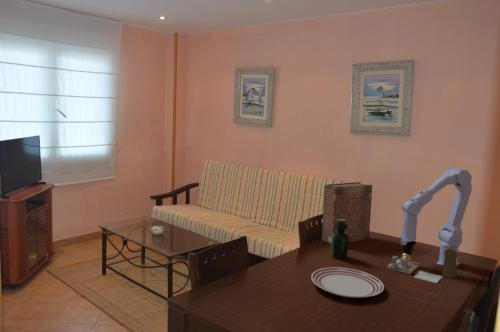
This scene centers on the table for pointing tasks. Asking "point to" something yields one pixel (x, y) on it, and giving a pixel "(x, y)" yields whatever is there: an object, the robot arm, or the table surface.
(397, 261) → the shaft
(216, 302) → the table surface
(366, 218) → the book
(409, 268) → the shaft bracket
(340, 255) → the potion bottle
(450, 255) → the olive stepped cylinder
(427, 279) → the pale green mat
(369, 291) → the dinner plate
